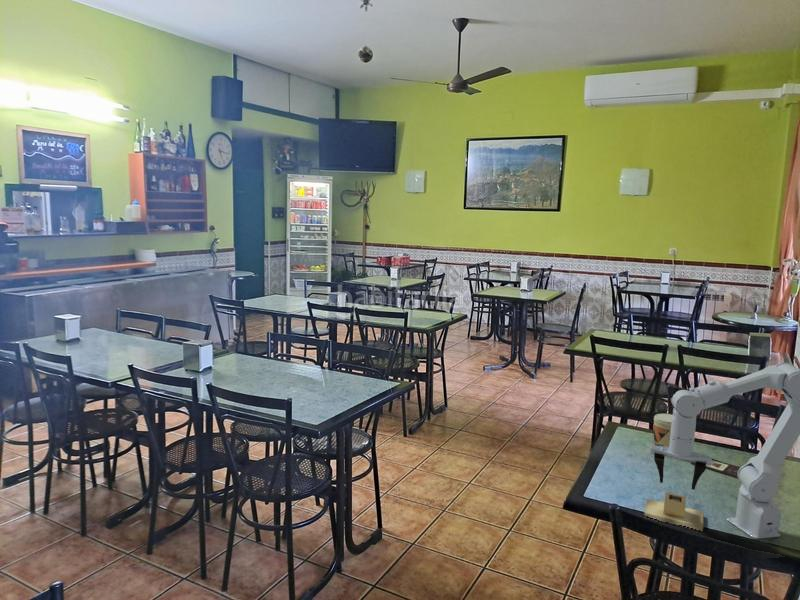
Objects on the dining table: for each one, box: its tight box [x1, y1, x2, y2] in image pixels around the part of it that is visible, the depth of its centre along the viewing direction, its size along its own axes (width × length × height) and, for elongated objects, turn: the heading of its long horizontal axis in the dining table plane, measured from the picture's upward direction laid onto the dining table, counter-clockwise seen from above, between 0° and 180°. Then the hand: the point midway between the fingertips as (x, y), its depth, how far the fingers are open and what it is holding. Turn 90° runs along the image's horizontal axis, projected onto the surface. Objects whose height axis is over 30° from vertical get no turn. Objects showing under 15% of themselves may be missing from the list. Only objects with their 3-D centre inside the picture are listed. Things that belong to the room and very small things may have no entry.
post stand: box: [643, 498, 704, 532], centre depth 156 cm, size 14×9×4 cm, turn 63°
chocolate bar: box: [690, 458, 742, 480], centre depth 187 cm, size 9×1×18 cm
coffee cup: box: [652, 413, 673, 447], centre depth 200 cm, size 9×9×12 cm
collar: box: [663, 491, 687, 519], centre depth 156 cm, size 5×5×4 cm
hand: (677, 484), depth 155 cm, fingers open, 7 cm apart
